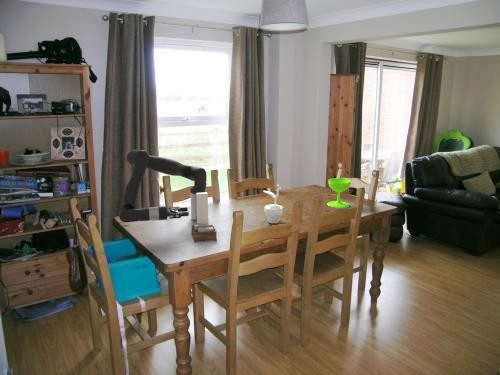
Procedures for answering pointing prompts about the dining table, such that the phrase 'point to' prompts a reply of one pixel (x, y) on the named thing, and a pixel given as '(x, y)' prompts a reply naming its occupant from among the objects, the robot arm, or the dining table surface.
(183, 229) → the dining table surface
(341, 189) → the wineglass
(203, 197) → the tall board
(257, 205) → the dining table surface
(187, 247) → the dining table surface
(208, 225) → the offcut stack
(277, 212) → the potted plant
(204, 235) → the offcut rack
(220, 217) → the dining table surface
